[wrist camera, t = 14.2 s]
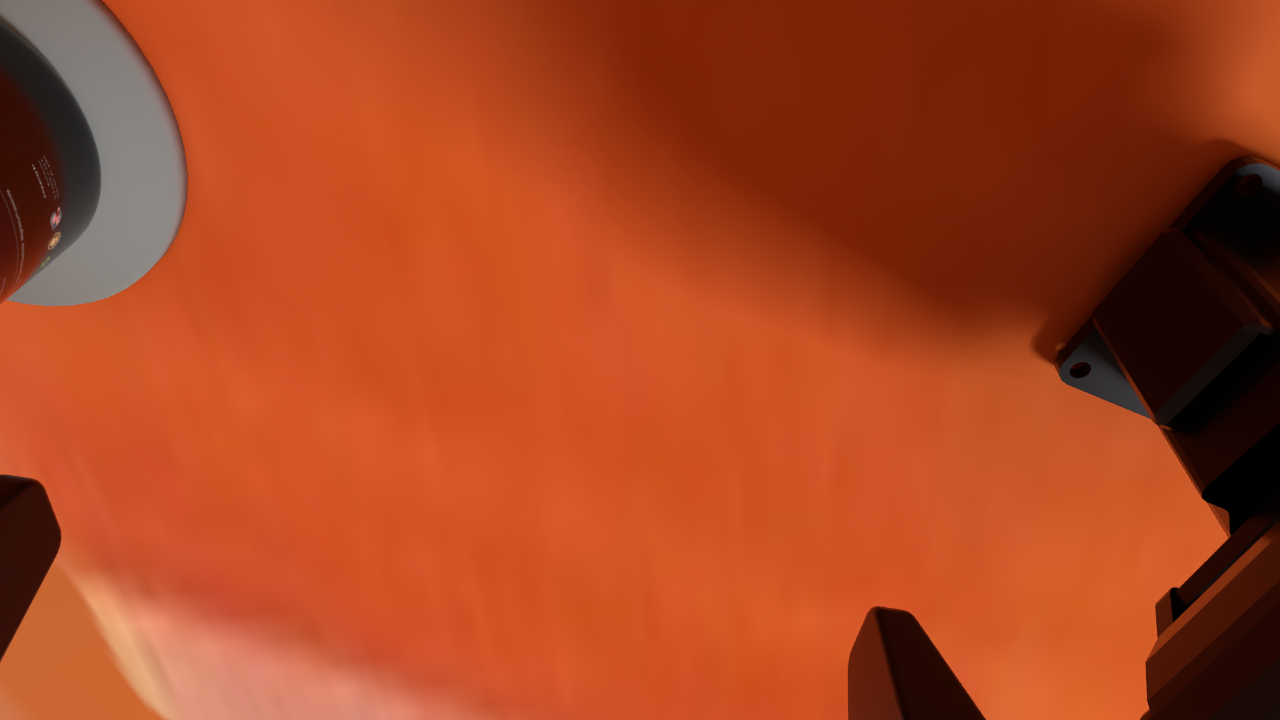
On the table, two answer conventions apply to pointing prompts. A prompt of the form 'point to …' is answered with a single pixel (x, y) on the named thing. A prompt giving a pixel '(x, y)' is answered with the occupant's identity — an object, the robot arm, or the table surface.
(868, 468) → the table surface
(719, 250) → the table surface
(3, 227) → the supplement bottle
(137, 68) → the coaster
